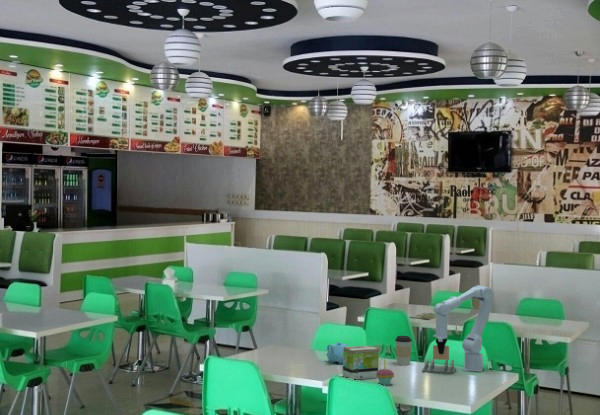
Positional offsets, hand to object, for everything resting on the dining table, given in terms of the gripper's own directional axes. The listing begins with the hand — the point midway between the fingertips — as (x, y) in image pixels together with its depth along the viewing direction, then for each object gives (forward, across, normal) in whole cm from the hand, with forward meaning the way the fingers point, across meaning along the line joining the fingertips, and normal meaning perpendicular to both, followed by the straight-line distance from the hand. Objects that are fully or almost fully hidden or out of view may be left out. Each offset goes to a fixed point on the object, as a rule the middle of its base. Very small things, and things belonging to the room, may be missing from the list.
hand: (441, 353), depth 399 cm
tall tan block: (+3, 0, 0) cm, 3 cm away
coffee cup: (+10, -14, -21) cm, 27 cm away
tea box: (+10, +25, -38) cm, 46 cm away
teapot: (+10, -6, -55) cm, 56 cm away
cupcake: (+10, +36, -24) cm, 44 cm away
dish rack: (+9, -3, -1) cm, 10 cm away
